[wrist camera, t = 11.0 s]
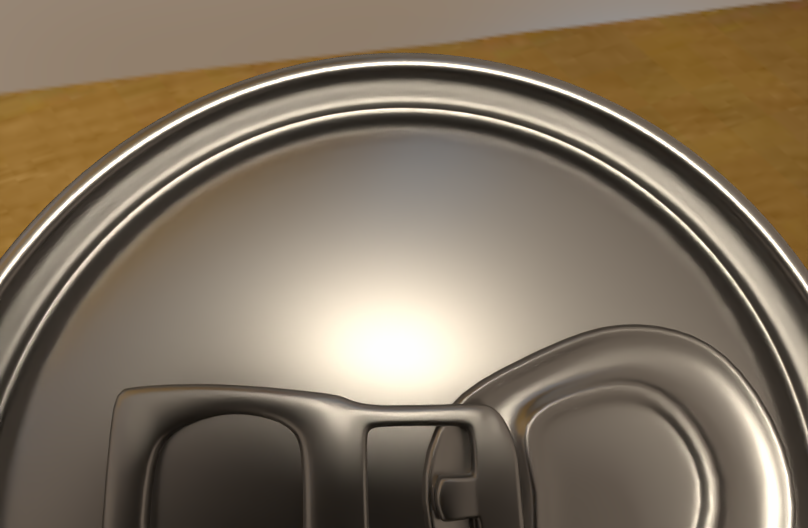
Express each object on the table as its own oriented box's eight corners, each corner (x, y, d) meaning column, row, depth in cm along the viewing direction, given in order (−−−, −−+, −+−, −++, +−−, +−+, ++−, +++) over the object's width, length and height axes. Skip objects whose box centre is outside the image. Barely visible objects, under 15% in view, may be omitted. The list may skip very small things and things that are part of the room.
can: (506, 546, 14) (1174, 1216, 3) (247, 566, 14) (-412, 1531, 2) (485, 296, 16) (844, -3, 4) (250, 304, 15) (-114, -15, 4)
